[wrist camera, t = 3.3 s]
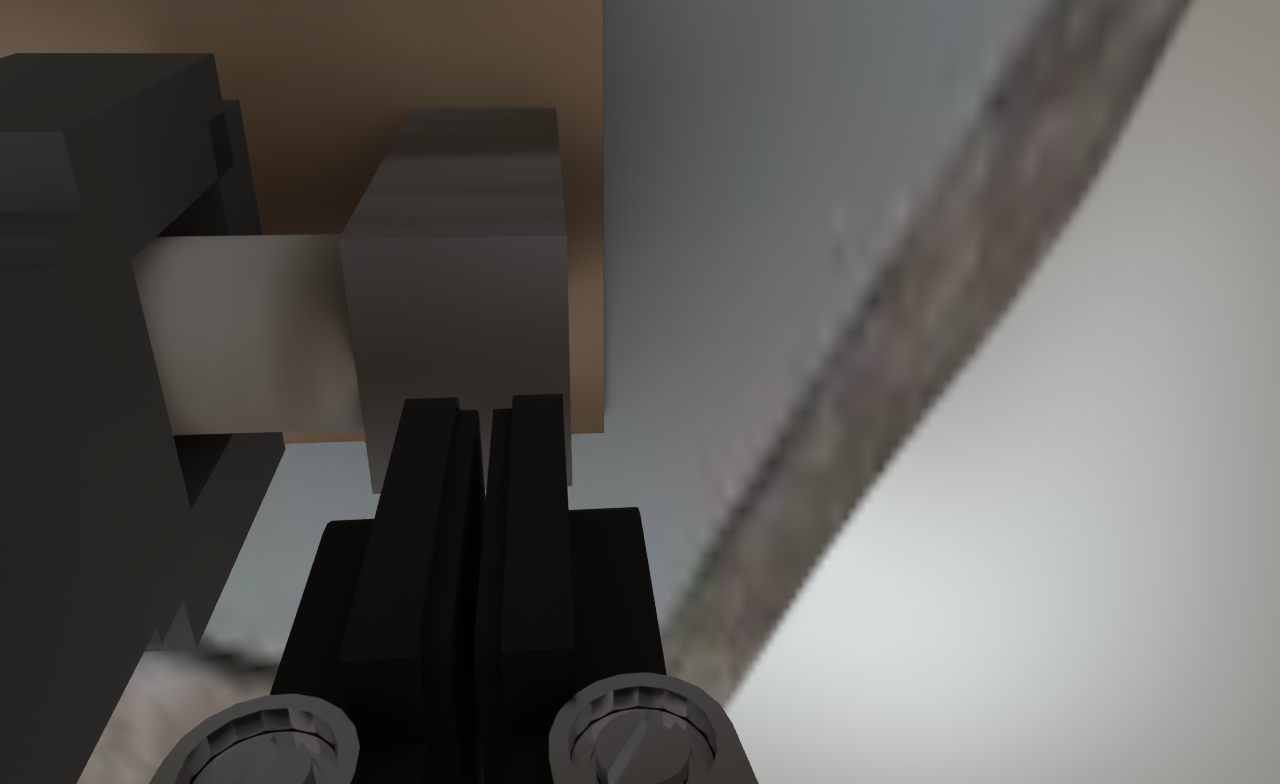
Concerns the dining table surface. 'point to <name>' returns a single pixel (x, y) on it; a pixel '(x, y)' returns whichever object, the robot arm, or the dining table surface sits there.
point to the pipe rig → (377, 211)
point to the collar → (106, 390)
